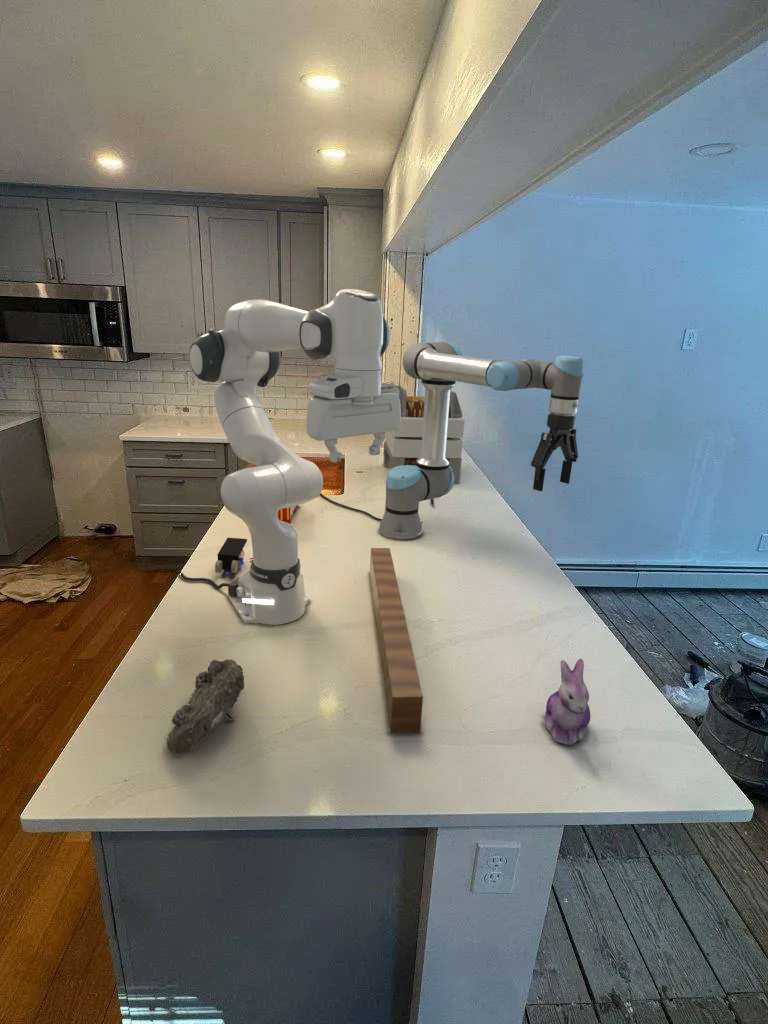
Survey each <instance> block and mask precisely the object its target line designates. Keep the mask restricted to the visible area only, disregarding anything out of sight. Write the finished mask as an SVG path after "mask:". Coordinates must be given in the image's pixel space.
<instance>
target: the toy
mask: <svg viewBox="0 0 768 1024" xmlns="http://www.w3.org/2000/svg"><path fill="white" fill-rule="evenodd" d="M299 506H300V505H297V506H292V507H288V508H283V509H280V510H279V511H278V519H279V520H281V521H284V522H287V523H289V524H290V525H291V517H292V515H293V514H295V513H296V511H298V508H299Z"/></svg>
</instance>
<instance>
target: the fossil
mask: <svg viewBox="0 0 768 1024" xmlns="http://www.w3.org/2000/svg"><path fill="white" fill-rule="evenodd" d="M243 670H244V669H243V667H242V665H240V664H237V662H236V661H235V660H234V659H232V658H231V659H227V658H226V659H224V660H223V661H222V660H217V659H212V660H211V661H210V663H209V665H208V666H207V671H201V672H199V673H198V674H197V675H196V676H195V680H194V684H195V685H194V687H195V689H194V690H193V693H192V694H191V697H190V698H189V700H188V704H184V705H182V706H181V707H180V709H177V710H176V711H175V713H174V715H173V716H172V718H171V723H172V724H173V727H172V730H171V731H170V732H168V734H167V738H166V741H167V742H166V745H167V749H168V750H169V751H173V752H174V753H176V754H178V753H182V752H188V751H189V752H192V751H193V750H195V748H196V747H197V746H199V744H200V743H201V742H203V741H204V740H205V739H206V738H207V737H208V736H209V735H210V734H211V733H212V732H214V730H215V729H217V727H218V726H219V724H220V722H221V721H222V720H223V719H224V718H225V716H226V717H227V719H229V720H233V717H232V715H230V714H229V710H230V709H231V708H234V706H235V704H236V703H237V702H238V699H239V697H240V695H241V693H242V691H243V690H245V689H244V688H245V675H244V671H243Z"/></svg>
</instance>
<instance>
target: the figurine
mask: <svg viewBox="0 0 768 1024" xmlns="http://www.w3.org/2000/svg"><path fill="white" fill-rule="evenodd" d="M584 667H585V662H584V659H583V658H579V659H577V660H576V662H575V665H574V667H573V669H572V670H571V668H570V666H569V664H568V663H567V662H566V661H565V660H564V659H562V660H560V679H561V684H560V685H559V688H558V690H557V691H555V692H553V693H552V694H550V696H549V697H548V699H547V701H546V706H545V713H544V723H545V727H546V729H547V731H548V732H549V733H550V734H551V737H552V738H553V740H554V741H555V742H557V743H560V744H564V745H570V746H571V745H572V746H573V745H575V744H576V743H577V742H580V741H582V740H583V739H584V738H585V736H586V732H587V728H588V725H589V724H590V721H591V716H592V715H591V709H590V706H589V704H588V703H589V700H590V694H589V693H590V692H589V689H588V687H587V684H586V683H585V681H584V670H585V669H584Z"/></svg>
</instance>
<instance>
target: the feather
mask: <svg viewBox="0 0 768 1024" xmlns="http://www.w3.org/2000/svg"><path fill="white" fill-rule="evenodd" d="M434 499H435V498H432V499H430V505H431V506H432V507H433V508H435V507H434V506H435V504H434V501H435V500H434Z"/></svg>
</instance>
